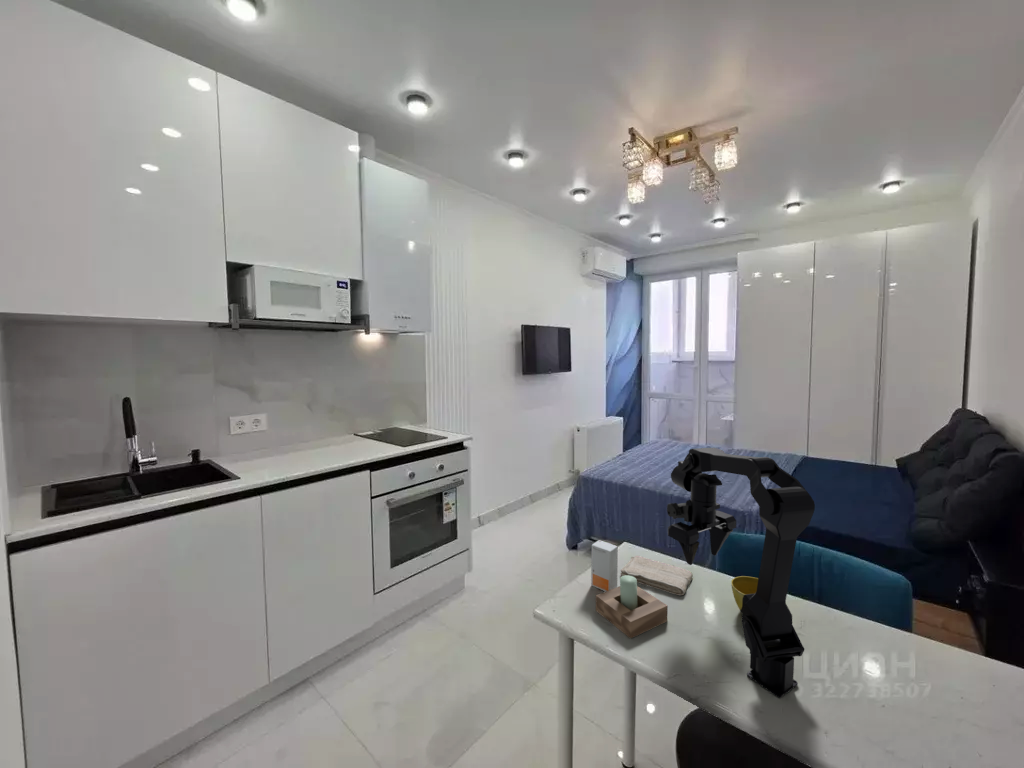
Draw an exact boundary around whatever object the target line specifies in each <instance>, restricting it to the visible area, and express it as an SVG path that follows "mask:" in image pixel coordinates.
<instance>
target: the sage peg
mask: <svg viewBox="0 0 1024 768" xmlns="http://www.w3.org/2000/svg"><path fill="white" fill-rule="evenodd" d="M619 586H620V596H621V604H622V605H624V606H625V607H626V608H628V609H629V610H634V609H636V608H638V604H637V586H638V582H637V579H636V578H635V577H633V576H629V575H625V576H621V577H619Z"/></svg>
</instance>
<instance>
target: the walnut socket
mask: <svg viewBox="0 0 1024 768" xmlns="http://www.w3.org/2000/svg"><path fill="white" fill-rule="evenodd" d="M637 604H638V608H636V609H634V610H629V609H628V608H626V607H625V606H624V605H622V604H621V596H620V585H619V586H617V587H616V588H614V589H611V590H609V591H606V592H605V591H604V592H601V593H599V594H596V595H595V611H596V612H597V613H598V614H599V615H600V616H602V618H604V619H605V620H607V621H608V622H609V623H610V624H612V626H614V627H615V628H617V629H618V630H619V631H620V632H622V633H623V634H624V635H626V636H627V637H628V638H629V639H633V638H635V637H637V636H639V635H641V634H643V633H646V632H648V631H650V630H652V629H654V628H657V627H658V626H661V625H662V624H664V623H666V622H668V613H669V612H668V607H669V606H668V605H667V604H666V603H665V602H663V601H661V600H660V599H658V598H657V597H656V596H654V595H652V594H650V593H649V592H647V591H646V590H644V589H642V588H641V587H639V586H638V585H637Z"/></svg>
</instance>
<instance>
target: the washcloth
mask: <svg viewBox="0 0 1024 768" xmlns="http://www.w3.org/2000/svg"><path fill="white" fill-rule="evenodd" d="M620 571H621V572H620V576H621V577H622V576H625V575H629V576H633V577H635V578H636V579H637V584H641V585H644V586H647V585H648V587H650V586H651V587H650V588H654V589H657V590H660V591H664V592H667V593H669V594H673V595H676V596H683V595H685V593H686V592H687V587H688V586H689V585H690V583H691V581H692V579H693V575H694V574H693V573H692V572H691V570H688V569H686V568H682V567H679V566H675V565H672V564H670V563H669V564H668V563H665V562H662V561H658V560H653V559H651V558H647V557H644V556H640V555H634V556H631V557H630V560H629V561H628V562H627V563H626V564H625V565H624V566H623V567H622V568H621V569H620Z"/></svg>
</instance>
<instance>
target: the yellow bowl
mask: <svg viewBox="0 0 1024 768" xmlns="http://www.w3.org/2000/svg"><path fill="white" fill-rule="evenodd" d="M758 578H759V577H753V576H746V575H741V576H735V577H734V578H732V579H731V583H730V584H731V585H730V586H731V590H732V594H733V598H734V601H735V603H736V605H737V606H736V607H737V608H738V609H739V611H740V610H741V609H742V599H743V597H744V595H747V594H755V593H756V591H757V585H758Z"/></svg>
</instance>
